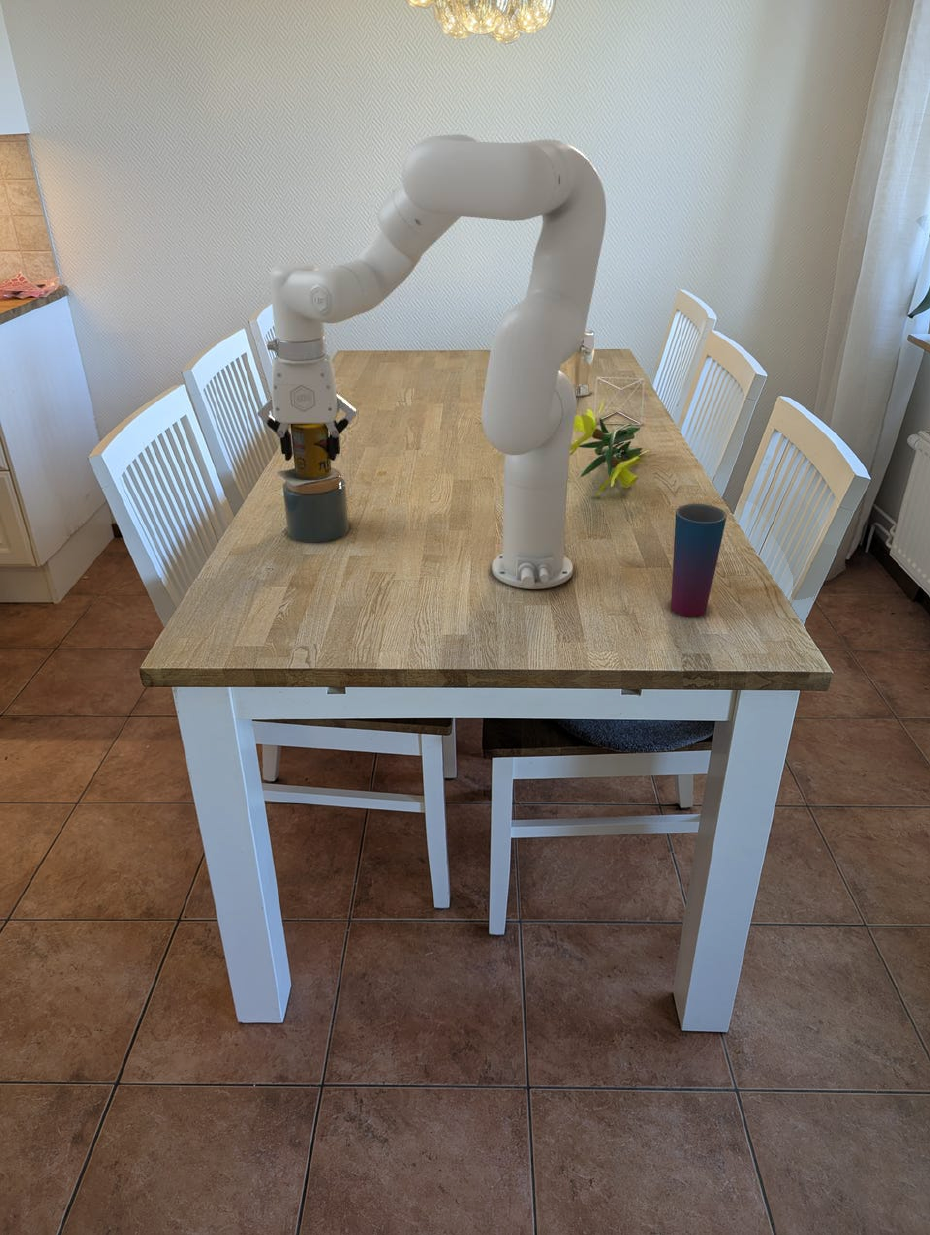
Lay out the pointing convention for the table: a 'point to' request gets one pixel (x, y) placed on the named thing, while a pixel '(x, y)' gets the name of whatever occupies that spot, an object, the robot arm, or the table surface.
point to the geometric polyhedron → (616, 395)
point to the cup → (695, 556)
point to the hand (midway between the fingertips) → (311, 457)
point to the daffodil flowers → (611, 454)
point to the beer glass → (581, 365)
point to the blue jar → (316, 510)
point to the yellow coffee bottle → (309, 455)
